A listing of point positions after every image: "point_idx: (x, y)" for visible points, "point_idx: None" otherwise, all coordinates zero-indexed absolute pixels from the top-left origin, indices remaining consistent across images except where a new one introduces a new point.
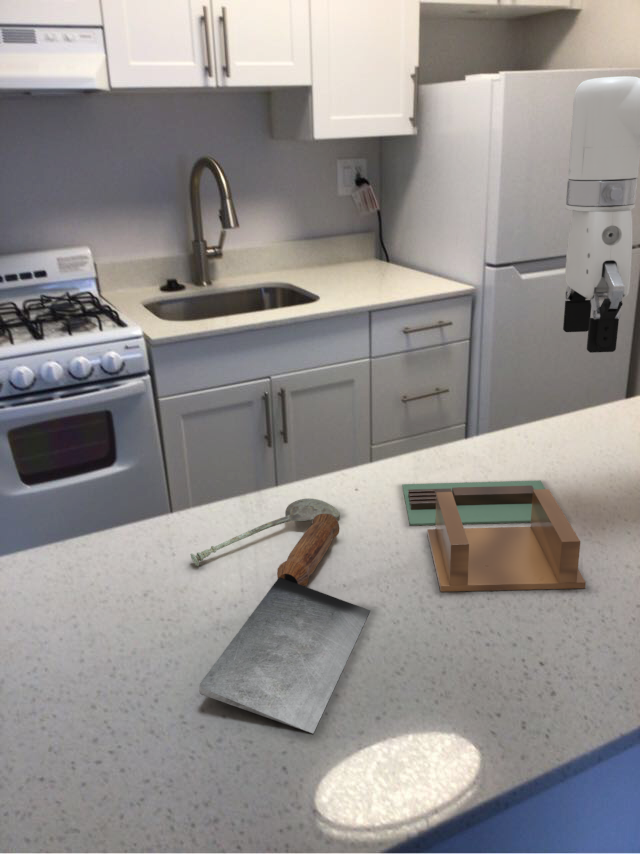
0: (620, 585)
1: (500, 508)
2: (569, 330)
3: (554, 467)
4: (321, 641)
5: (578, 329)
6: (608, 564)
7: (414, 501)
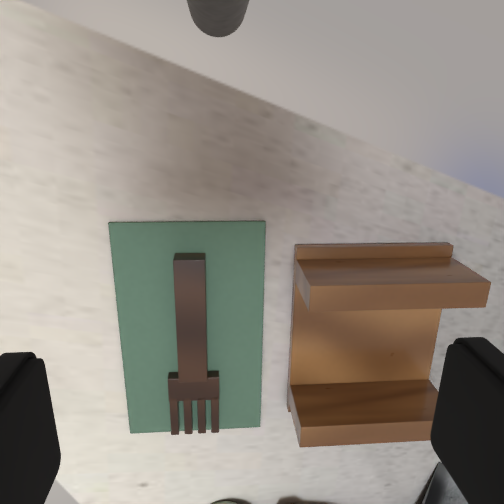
0: (451, 194)
1: (220, 308)
2: (56, 449)
3: (32, 177)
4: None
5: (49, 412)
6: (398, 192)
7: (213, 428)
